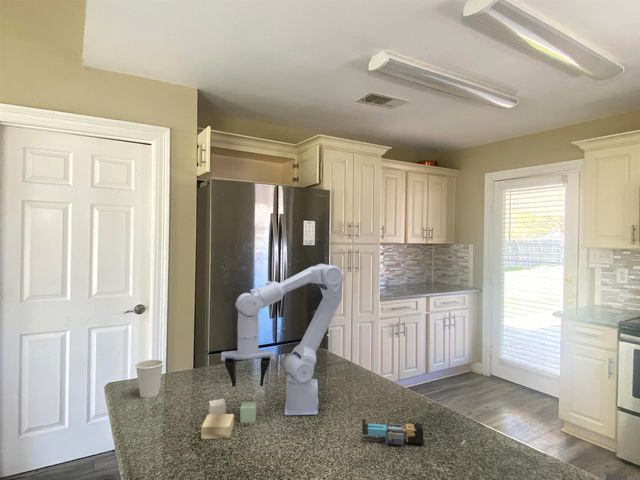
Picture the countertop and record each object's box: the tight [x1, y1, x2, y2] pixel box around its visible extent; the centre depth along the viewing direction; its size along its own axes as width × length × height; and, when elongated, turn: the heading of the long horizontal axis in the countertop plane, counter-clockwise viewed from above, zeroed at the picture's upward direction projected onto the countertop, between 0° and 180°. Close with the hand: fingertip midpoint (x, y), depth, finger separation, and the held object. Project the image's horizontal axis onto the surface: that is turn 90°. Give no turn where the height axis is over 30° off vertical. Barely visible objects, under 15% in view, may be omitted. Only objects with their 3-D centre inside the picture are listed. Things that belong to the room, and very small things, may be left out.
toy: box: [361, 418, 425, 447], centre depth 96 cm, size 6×4×15 cm
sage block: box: [239, 401, 258, 423], centre depth 108 cm, size 4×4×4 cm
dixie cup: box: [135, 359, 165, 399], centre depth 124 cm, size 8×8×10 cm
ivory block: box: [208, 398, 227, 415], centre depth 109 cm, size 4×4×4 cm
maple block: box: [200, 413, 235, 440], centre depth 100 cm, size 7×7×3 cm
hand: (248, 385), depth 108 cm, fingers open, 7 cm apart
